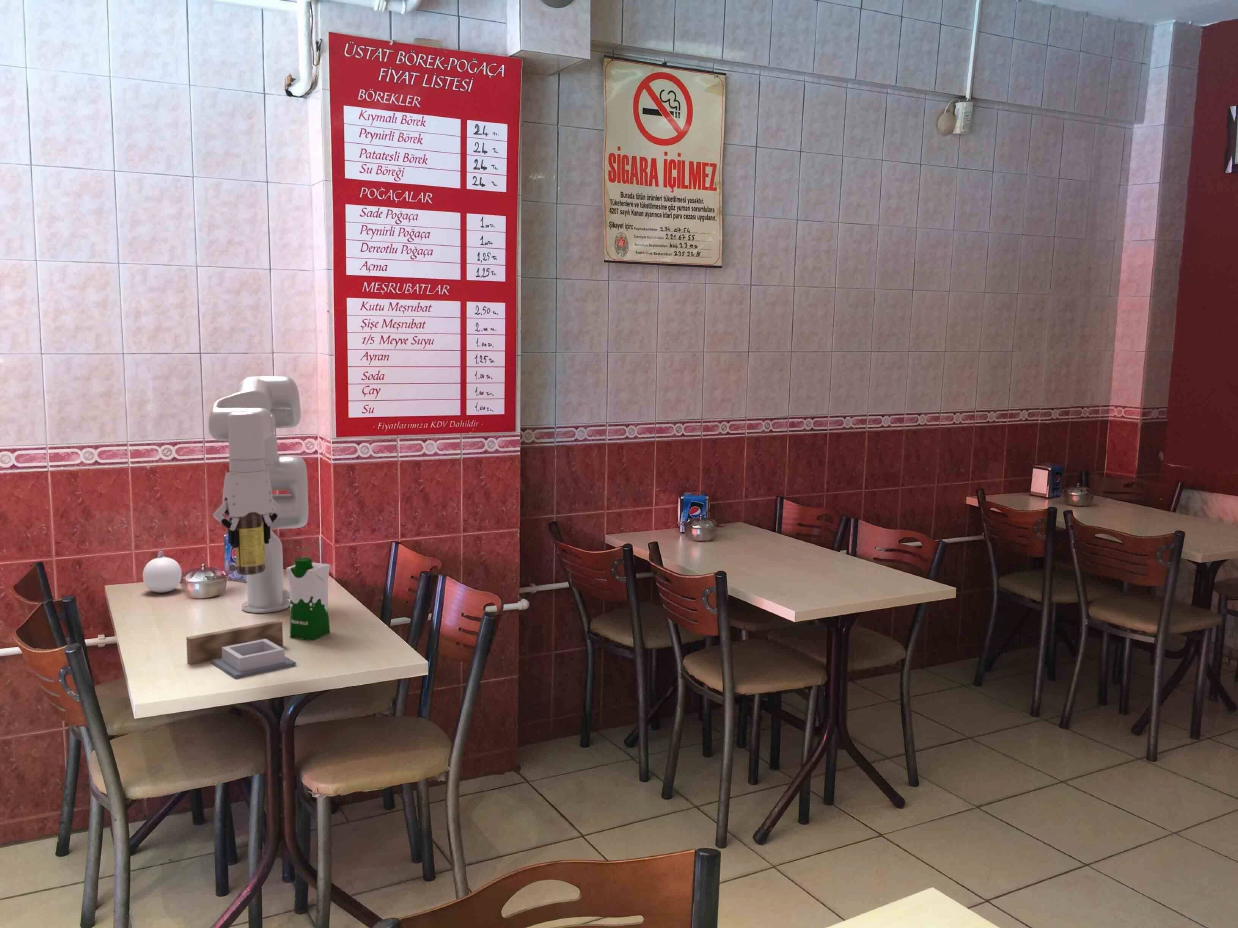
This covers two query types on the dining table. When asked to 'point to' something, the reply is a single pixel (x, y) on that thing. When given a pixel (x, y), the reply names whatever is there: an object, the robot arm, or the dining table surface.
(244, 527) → the sauce bottle
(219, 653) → the walnut wall
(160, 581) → the ornament
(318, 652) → the dining table surface
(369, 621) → the dining table surface
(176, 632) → the dining table surface
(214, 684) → the dining table surface
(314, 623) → the milk carton
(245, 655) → the holder
